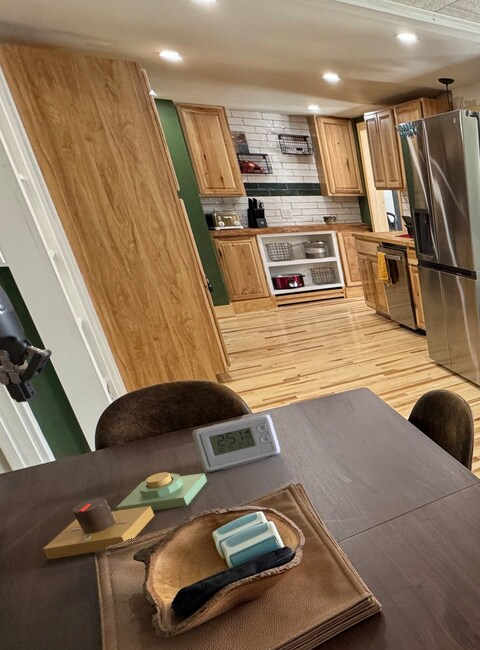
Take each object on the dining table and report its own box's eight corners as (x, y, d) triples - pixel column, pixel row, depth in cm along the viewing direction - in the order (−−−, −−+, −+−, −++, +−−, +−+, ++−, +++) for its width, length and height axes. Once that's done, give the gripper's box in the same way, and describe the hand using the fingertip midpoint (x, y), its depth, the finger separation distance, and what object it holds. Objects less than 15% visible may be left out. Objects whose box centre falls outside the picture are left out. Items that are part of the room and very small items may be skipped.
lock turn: (93, 520, 95) (82, 498, 93) (121, 516, 96) (111, 495, 94) (76, 535, 91) (64, 512, 89) (105, 531, 92) (94, 509, 90)
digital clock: (200, 476, 114) (186, 437, 110) (210, 458, 122) (196, 421, 118) (279, 460, 121) (268, 423, 117) (283, 445, 128) (273, 409, 124)
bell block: (119, 515, 100) (112, 500, 99) (146, 489, 109) (139, 474, 108) (187, 505, 104) (181, 490, 102) (207, 480, 112) (201, 466, 111)
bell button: (144, 490, 103) (141, 483, 102) (154, 480, 106) (151, 473, 106) (166, 487, 104) (163, 480, 103) (175, 477, 107) (173, 471, 107)
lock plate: (48, 559, 88) (41, 548, 87) (84, 526, 97) (78, 515, 96) (126, 546, 92) (121, 535, 91) (154, 515, 100) (150, 505, 99)
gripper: (44, 304, 88) (83, 389, 95) (-50, 308, 85) (-3, 396, 91) (11, 313, 82) (55, 404, 88) (-92, 318, 78) (-38, 413, 85)
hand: (26, 400), depth 90 cm, fingers closed
